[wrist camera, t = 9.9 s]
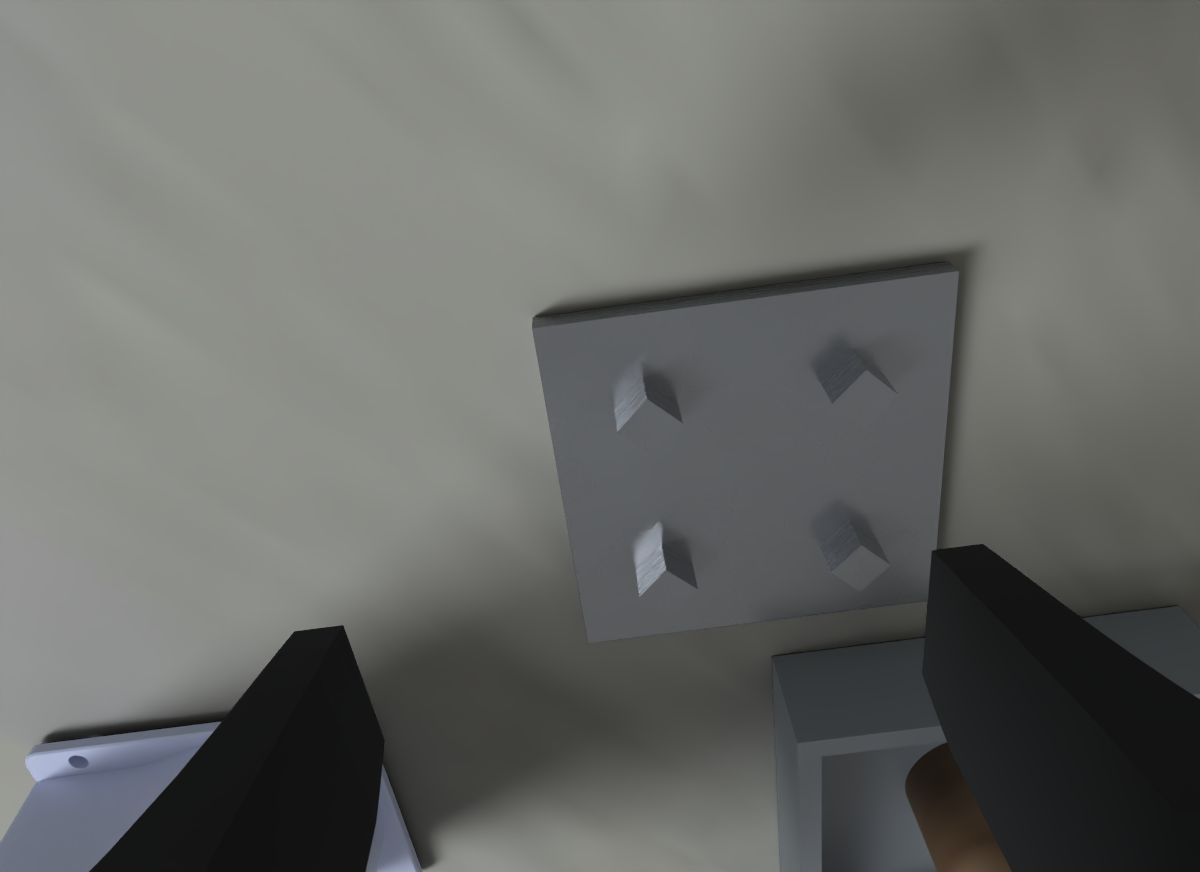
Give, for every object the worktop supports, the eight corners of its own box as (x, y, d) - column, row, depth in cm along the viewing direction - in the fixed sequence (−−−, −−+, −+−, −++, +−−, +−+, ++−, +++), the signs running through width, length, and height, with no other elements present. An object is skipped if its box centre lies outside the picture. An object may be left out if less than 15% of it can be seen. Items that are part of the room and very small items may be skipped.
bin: (781, 897, 30) (802, 989, 28) (771, 656, 25) (797, 743, 22) (1112, 858, 30) (1164, 946, 28) (1179, 605, 25) (1253, 687, 22)
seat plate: (587, 627, 24) (589, 671, 23) (532, 317, 19) (531, 348, 18) (924, 585, 24) (947, 626, 22) (948, 261, 19) (979, 288, 18)
